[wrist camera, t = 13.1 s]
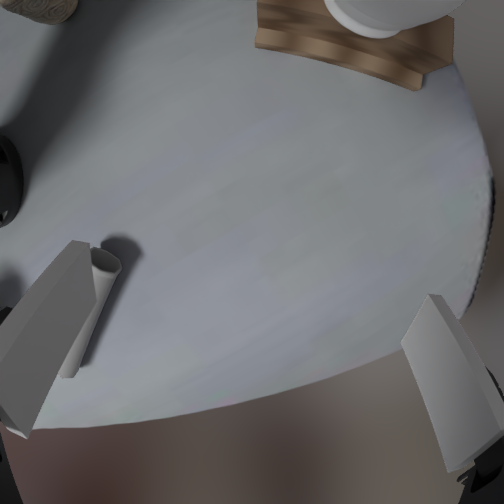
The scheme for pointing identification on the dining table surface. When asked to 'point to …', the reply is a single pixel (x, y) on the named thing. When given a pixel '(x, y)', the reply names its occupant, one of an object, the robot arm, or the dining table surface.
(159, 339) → the dining table surface
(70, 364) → the tube
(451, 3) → the jar
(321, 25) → the wooden block
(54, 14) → the carving
